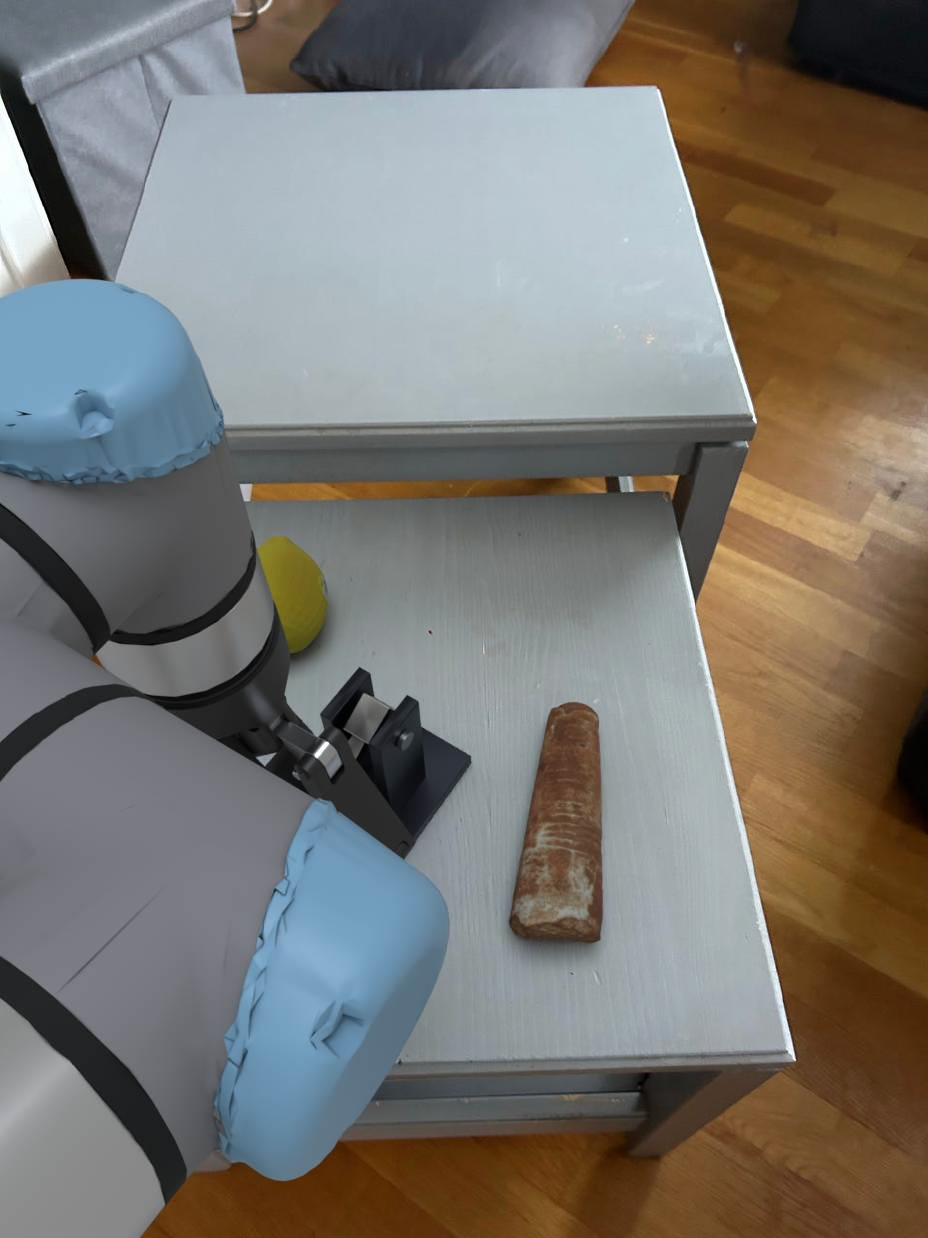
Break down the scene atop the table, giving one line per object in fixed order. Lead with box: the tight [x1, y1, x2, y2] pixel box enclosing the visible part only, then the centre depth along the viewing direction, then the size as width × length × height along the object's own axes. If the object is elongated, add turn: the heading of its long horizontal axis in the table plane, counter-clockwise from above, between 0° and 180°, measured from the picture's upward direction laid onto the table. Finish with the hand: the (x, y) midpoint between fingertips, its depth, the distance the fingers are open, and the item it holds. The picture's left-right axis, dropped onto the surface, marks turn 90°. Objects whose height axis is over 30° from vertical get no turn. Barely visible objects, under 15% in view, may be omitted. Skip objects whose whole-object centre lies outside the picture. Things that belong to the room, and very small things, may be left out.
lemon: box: [256, 535, 329, 655], centre depth 79 cm, size 11×8×8 cm
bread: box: [508, 701, 604, 944], centre depth 69 cm, size 6×19×6 cm, turn 170°
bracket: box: [319, 666, 472, 842], centre depth 68 cm, size 11×9×13 cm
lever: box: [343, 693, 396, 763], centre depth 64 cm, size 13×6×2 cm, turn 147°
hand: (276, 819), depth 58 cm, fingers open, 13 cm apart
